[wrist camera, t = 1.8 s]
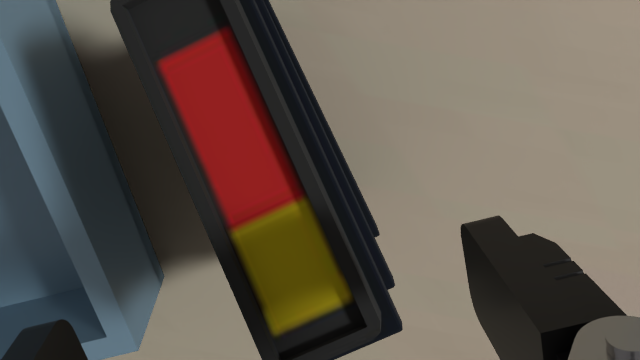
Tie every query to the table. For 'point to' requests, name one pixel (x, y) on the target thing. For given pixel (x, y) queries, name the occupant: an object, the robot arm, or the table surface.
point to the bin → (64, 197)
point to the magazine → (263, 174)
